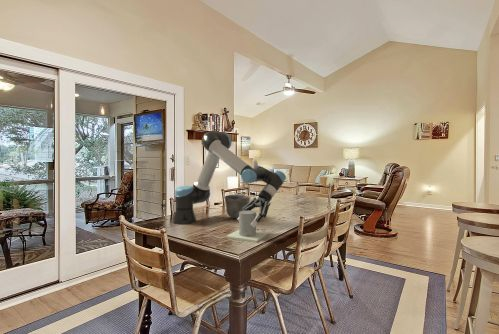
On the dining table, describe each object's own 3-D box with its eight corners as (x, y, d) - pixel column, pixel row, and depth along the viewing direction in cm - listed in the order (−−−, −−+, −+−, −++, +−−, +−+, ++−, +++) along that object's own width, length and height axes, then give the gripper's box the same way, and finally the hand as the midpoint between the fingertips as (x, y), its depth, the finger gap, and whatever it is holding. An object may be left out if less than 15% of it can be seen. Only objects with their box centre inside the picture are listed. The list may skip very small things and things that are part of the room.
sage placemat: (226, 237, 149) (226, 236, 149) (240, 230, 164) (240, 228, 163) (256, 242, 141) (256, 240, 141) (268, 234, 156) (268, 232, 156)
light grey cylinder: (250, 237, 146) (250, 214, 145) (235, 235, 151) (235, 212, 150) (259, 233, 154) (259, 211, 153) (245, 230, 159) (244, 209, 158)
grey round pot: (218, 218, 194) (218, 197, 194) (234, 213, 209) (233, 194, 208) (238, 221, 184) (238, 199, 184) (253, 216, 199) (253, 196, 198)
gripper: (285, 201, 150) (262, 232, 142) (258, 195, 171) (237, 222, 163) (277, 192, 147) (254, 224, 139) (251, 187, 167) (229, 214, 160)
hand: (245, 223), depth 151 cm, fingers open, 13 cm apart
